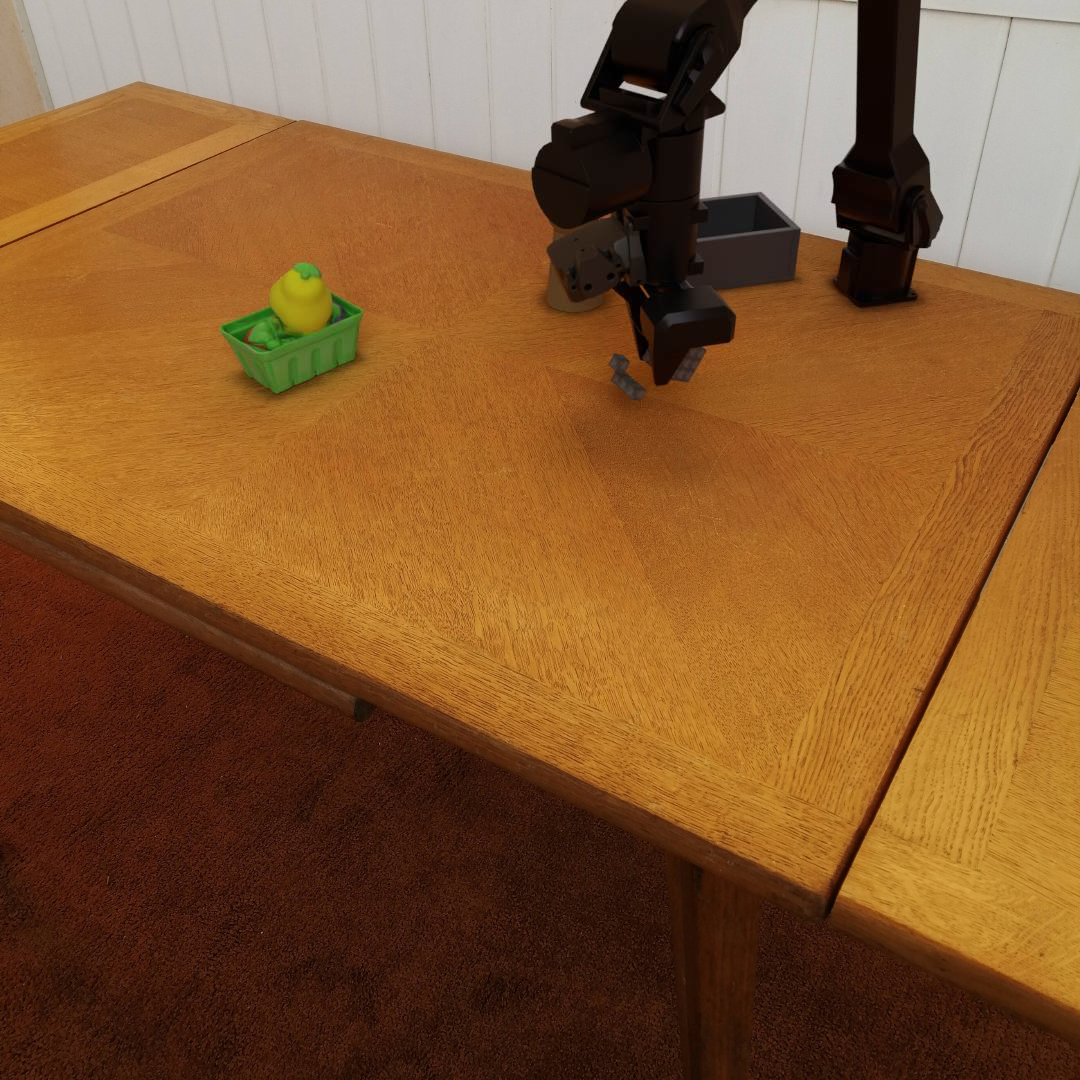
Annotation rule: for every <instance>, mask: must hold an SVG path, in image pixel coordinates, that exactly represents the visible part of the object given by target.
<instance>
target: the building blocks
mask: <svg viewBox="0 0 1080 1080" xmlns="http://www.w3.org/2000/svg"><path fill="white" fill-rule="evenodd" d="M706 353H707V349H706V348H705V347H697V348H691V349H690V350H689V352H688V353H687V355H686V356H685V358H684V360H683V361H682V363H681V364H680V366H679V367H678V369H677V371H676V372H675V374H674V375H673V377H672V378H671V380H670V381H676V382H681V383H687V384H689V383H690V381H691V380H692V378H693V376H694V374H695V373H696V370H697V369H698V366H699V365H700V364H701V362H702V360H703V358H704V356H705V355H706ZM642 360H643V361H642V362H644V363H646V364H647V365H648V366H649V367H650V368H652V367H651V359H650V351H649V347H648V349H647V350H646V352H645V354H644V356H643V358H642ZM630 363H631V361H630V360H629V359H628V357H626V356H625V355H624V354H622V353H621V354H620V353H614V352H613V354H612V356H611V358H610V359H609V362H608V364H607V365H608V366H609V367H610V368H611V369H612V370H614V371H613V374H612V375H611V377H610V381H611V382H612V384H614V385H615V386H616V387H617V388H618V389H619V390H621V391H622V392H623V393H624V394H625V395H626V396H627V397H628V398H629V399H630V400H632V401H635V402H642V400H643V398H644V396H645V394H646V393H647V391H648V390H647V389H646V388H644V387H643V386H642V385H641V383H639V382H638V381H637V380H635V378H634V377H633V376H631V375H630V374H629V373H628V372H627V369H628V367H629V366H630Z"/></svg>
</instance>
